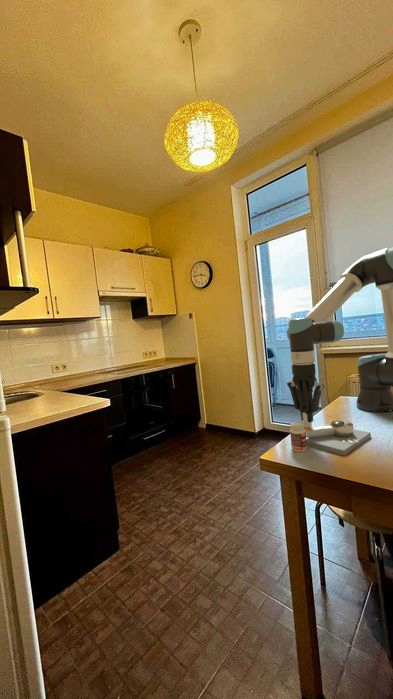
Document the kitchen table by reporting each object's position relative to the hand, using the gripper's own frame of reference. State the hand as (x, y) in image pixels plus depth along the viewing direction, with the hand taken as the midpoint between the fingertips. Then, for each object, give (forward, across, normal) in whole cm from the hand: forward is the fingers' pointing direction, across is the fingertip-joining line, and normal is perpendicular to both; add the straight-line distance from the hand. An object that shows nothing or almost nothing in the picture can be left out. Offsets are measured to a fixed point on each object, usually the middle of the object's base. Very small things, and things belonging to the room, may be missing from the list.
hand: (308, 430), depth 100 cm
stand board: (+3, +8, +4) cm, 10 cm away
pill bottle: (+3, +2, -9) cm, 10 cm away
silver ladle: (+1, +6, +3) cm, 7 cm away
